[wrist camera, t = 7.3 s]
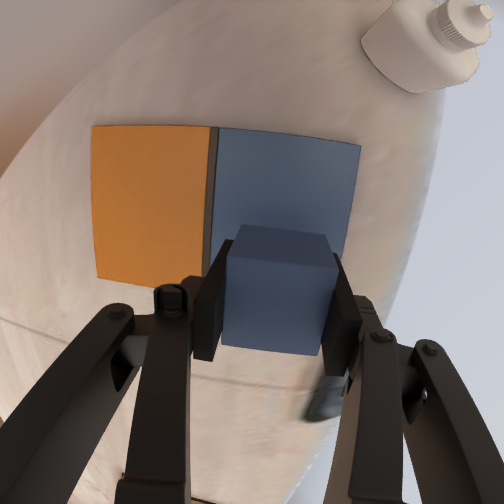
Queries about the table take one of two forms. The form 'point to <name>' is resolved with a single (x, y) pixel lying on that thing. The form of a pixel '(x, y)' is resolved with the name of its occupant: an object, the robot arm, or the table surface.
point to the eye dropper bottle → (428, 42)
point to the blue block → (278, 290)
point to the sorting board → (208, 194)
